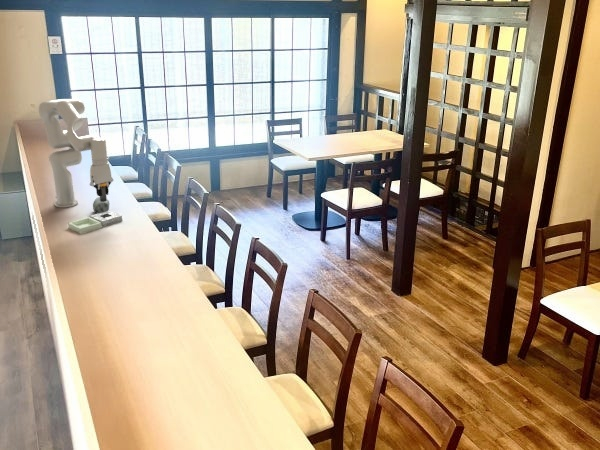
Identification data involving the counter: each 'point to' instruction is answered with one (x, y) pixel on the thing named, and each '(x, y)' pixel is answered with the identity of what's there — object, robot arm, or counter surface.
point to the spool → (100, 205)
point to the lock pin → (103, 192)
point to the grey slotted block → (107, 217)
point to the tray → (84, 225)
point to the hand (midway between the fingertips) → (102, 194)
